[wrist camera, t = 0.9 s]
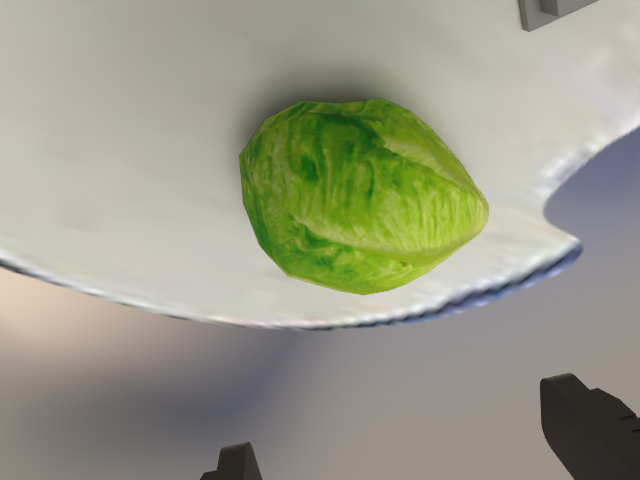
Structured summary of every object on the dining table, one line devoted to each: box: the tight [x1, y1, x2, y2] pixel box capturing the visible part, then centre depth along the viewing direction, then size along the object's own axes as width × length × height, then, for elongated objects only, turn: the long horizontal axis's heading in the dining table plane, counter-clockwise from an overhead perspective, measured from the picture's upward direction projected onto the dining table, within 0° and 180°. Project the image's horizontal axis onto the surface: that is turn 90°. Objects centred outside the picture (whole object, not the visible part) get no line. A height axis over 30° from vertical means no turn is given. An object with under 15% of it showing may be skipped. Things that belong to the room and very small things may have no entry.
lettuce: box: [239, 98, 489, 295], centre depth 33 cm, size 15×20×14 cm
